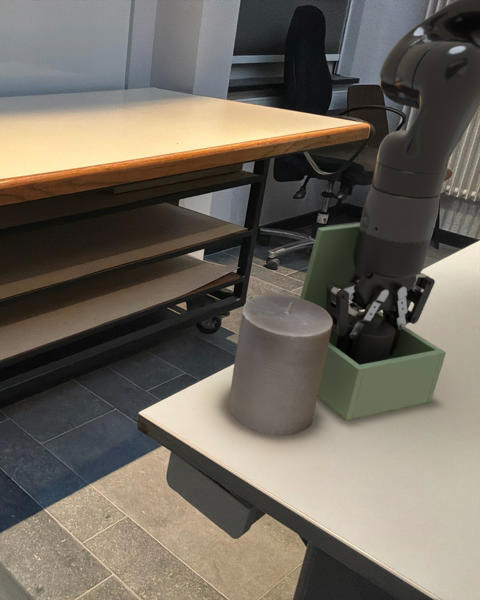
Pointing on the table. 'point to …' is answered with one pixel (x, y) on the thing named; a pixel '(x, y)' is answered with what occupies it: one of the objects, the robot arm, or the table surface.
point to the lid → (330, 261)
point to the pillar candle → (279, 364)
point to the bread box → (381, 377)
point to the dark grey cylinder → (374, 341)
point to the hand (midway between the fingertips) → (364, 356)
